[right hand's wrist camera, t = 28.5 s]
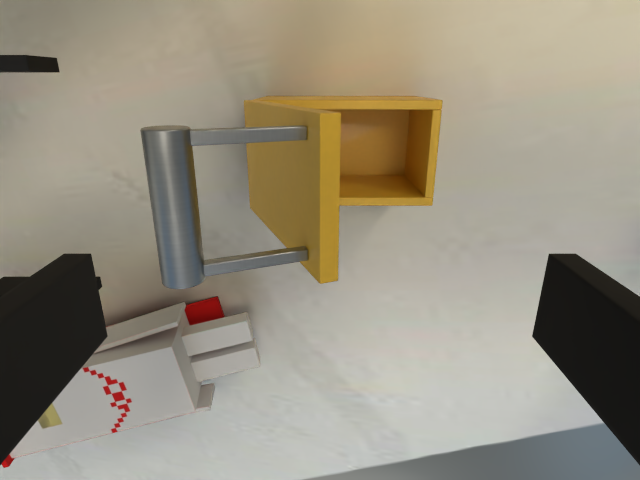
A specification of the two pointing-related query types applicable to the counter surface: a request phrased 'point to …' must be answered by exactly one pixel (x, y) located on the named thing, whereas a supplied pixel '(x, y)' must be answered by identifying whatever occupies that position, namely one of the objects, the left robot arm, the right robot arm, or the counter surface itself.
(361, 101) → the yellow open-ended box
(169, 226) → the yellow block with rod
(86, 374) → the toy
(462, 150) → the counter surface
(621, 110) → the counter surface
